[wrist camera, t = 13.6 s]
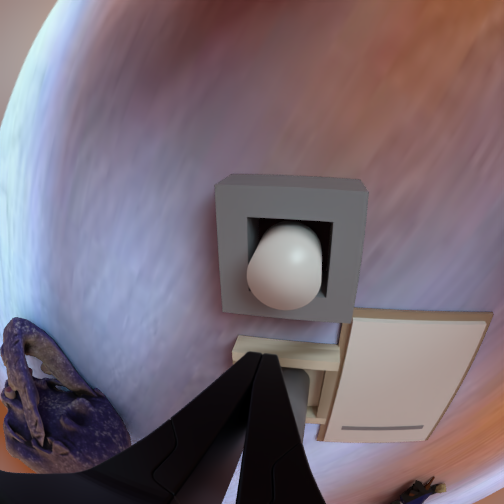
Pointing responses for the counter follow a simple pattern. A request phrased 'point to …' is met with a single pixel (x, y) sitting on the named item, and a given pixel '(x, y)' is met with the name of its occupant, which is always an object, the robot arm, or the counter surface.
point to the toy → (420, 493)
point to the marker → (297, 394)
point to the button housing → (298, 208)
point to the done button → (286, 266)
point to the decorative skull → (54, 408)
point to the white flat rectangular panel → (400, 373)
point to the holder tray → (305, 357)
